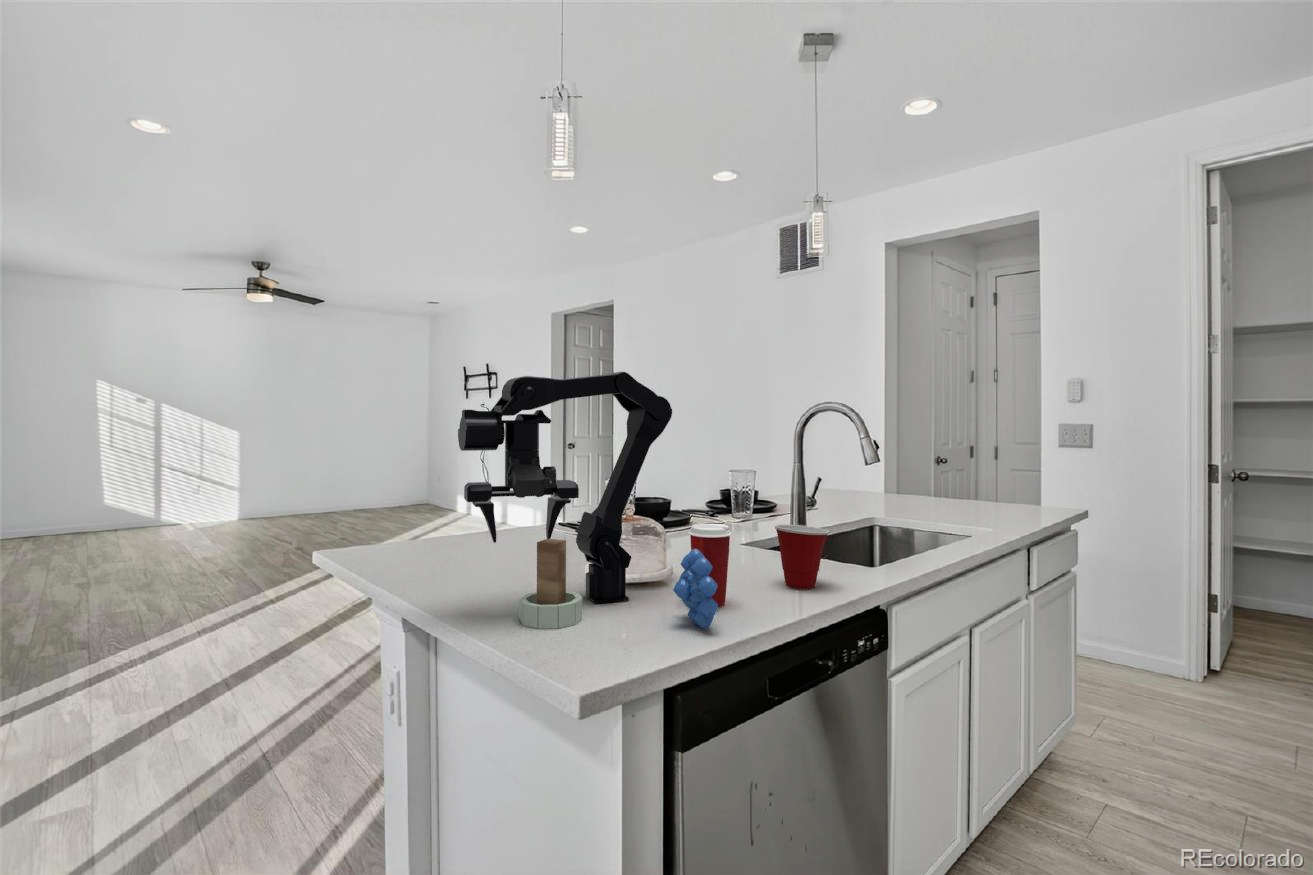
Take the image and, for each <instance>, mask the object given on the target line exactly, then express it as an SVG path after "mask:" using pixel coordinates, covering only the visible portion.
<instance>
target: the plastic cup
mask: <svg viewBox="0 0 1313 875" xmlns="http://www.w3.org/2000/svg"><path fill="white" fill-rule="evenodd" d="M774 529H775V530H776V533H777V534H776V535H777V539H778V540H777V541H778V544H779V545H778V546H779V552H780V559H781V566H782V570H783V577H784V578H783V579H784V584H785V586H786V587H787V586H788V587H787V588H789V587H790V588H789V589H793V590H801V589H802V591H803V590H804V589H806V590H812V589H811V588H813V589H814V587H816V584H817V579H818V573H819V570H820V566H821V559H822V555H823V548H824V546H825V542H826V540H827V537H828V535H830V530H828V529H825V528H822V527H816V526H815V527H814V526H808V525H800V524H785V523H784V524H775V525H774ZM804 591H805V590H804Z"/></svg>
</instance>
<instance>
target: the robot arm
mask: <svg viewBox="0 0 1313 875" xmlns="http://www.w3.org/2000/svg"><path fill="white" fill-rule="evenodd" d="M603 395H613V397H614V398H615V399H616V401H617V402H618V403H619V405H620V406H621V407H622V408H623V409H624V410H625V411H626V412H628V414H627V415H628V416H627V420H626V438H625V441H624V443H623V444H622V447H621V451H620V454H619V455H618V458H617V460H616V463H615V465H614V468H613V470H612V473H611V474H610V477H609V480H608V482H607V483H606V484H607V485H606V487H605V490H604V492H603V494H602V497H601V499H600V501H599V504H598V506H597V507H596V508H595V509H594V510H593V511H592V512H588V511H583V514H582V515H581V520H580V523H579V525H578V526H577V528H576V529H575V531H574V532H575V533H577V534H576V538H575V542H576V546H577V548H578V550H580V552H581V553H583V554H584V557H585V560H586V562H587V563H588V572H585V596H586V597H588V598H589V599H590V600H591V601H592V602H593V603H595V604H603V603H612V602H613V603H615V602H623V601H629V599H630V597H629V596H628V595H627V594H626V590H627V589H626V587H627V585H626V580H627V579H626V578H627V576H626V573H627V572H626V569H628V568H629V566H630V564H631V561H632V555H630V554H629V553H628V552H627V550H625V548H623V547H622V546H621V545H620V544H621V538H622V535H623V515H624V512H625V509H626V507H627V504H628V502H629V499H630V497H631V494H632V491H633V489H634V487H635V484H636V481H637V479H638V477H639V474H640V471H641V470H642V468H643V464H644V463H645V460H646V457H647V455H648V453H649V450H650V447H651V446H652V444H653V443H654V442H655V441H656V440H657V439H658V438H659V437H660V436H661V435H662V434H663V432H664V431H665V429H666V427H667V426H668V424H669V422H670V420H671V419H672V416H673V408H672V406H671V404H670V402H669V401H668V399H666V397H663V396H661V395H658V394H656V393H655V392H654V391H653V390H652V389H650V388H649V387H647V386H645V385H644V384H643V383H641V382H639V381H637V379H636V378H634V377H633V376H632V375H631V374H629V373H628V372H626V371H617V372H611V373H608V374H599V375H589V376H588V375H587V376H580V377H579V376H578V377H571V378H570V377H569V378H551V377H545V376H533V375H524V376H518V377H514V378H511V379H508V380H507V381H506V382H505V383H504V385H503V386H502V390H501V397H500V398H499V399H498V400H497V402H496V403H495V405H494V406H493V407H492V408H491V410H475V409H462V410H461V418H460V422H459V428H458V429H457V439H458V440H457V441H458V446H459V449H460V451H462V452H463V451H464V452H467V451H468V452H469V451H472V452H473V451H475V452H476V451H477V452H478V451H497V450H498V448H499V446H500V445H501V446H502V445H503V444H504V485H492V484H491V483H490V482H489V481H478V482H477V481H475V482H470V481H469V482H467V483H466V484H465V485H464V489H463V492H464V493H463V495H464V496H463V499H464V501H466V503H471V504H472V505H473V506H474V507H476V508H479V509H480V511H481V513H482V515H483V517H484V519H485V522H486V525H487V528H488V531H489V534H490V536H491V540H492V543H494V544H496V543H497V528H496V527H497V526H496V520H495V519H496V518H495V503H494V502H493V501H492V498H498V497H499V498H500V497H516V498H520V499H521V498H525V497H535V498H541V497H543V496H549V497H547V507H546V521H545V522H546V526H545V536H546V539H552V534H553V531H554V529H555V526H556V524H557V520H558V517H559V515H560V513H561V511H562V510H563V508H564V507H565V505H567V504H571V503H572V499H579V498H580V497H579V496H580V495H579V485H578V484H577V482H576V481H573V480H571V479H558V480H557V469H556V467H555V466H552V465H551V466H543V468H542V467H541V460H540V424H551V423H552V420H551V418H549V417H548V416H547V415H546V414H545V412H544V411H543V410H542V409H539V408H542V407H545V406H548V405H550V404H553V403H556V402H558V401H562V400H567V399H569V400H570V399H577V398H585V397H593V396H595V397H596V396H603ZM535 409H538V410H535ZM531 410H535V412H534V413H520V412H522V411H531ZM504 416H505V417H507V416H508V417H512V416H516V417H515V419H512V420H510V419H507V420H506V419H504V420H503V417H504ZM511 489H512V490H511Z"/></svg>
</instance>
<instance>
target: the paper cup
mask: <svg viewBox="0 0 1313 875" xmlns="http://www.w3.org/2000/svg"><path fill="white" fill-rule="evenodd" d="M687 534H688V535H689V536H690V551H691V550H692V549H698V550H699V551H700V552H701V553H702V554H703V555H704V557H705V559H707V560H708V561H709V562H710V564H711V565H712V570H711V572H710V574H709V575H708V576H709V577H711V578H712V579H713V580H714V581H715V582H716V584H717V585H718V587H717V590H716V592H715V594H714V595H713V596H712V597H711V598H713V599H714V601H715V602H716V603H717V604H718V609H719V607H720V608H722V607H725V605H726V596H727V587H728V586H727V584H728V583H727V582H728V568H729V555H730V541H731V540H730V538H731V535H732V534H733V533H732V532H731V530H730V527H729V526H728V525H726V524H722V523H696V524H693V525H691V527H690V529H689V531H688V532H687Z"/></svg>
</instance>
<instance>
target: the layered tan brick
mask: <svg viewBox="0 0 1313 875" xmlns="http://www.w3.org/2000/svg"><path fill="white" fill-rule="evenodd" d="M566 591H567V540H566V539H559V538H556V539H555V538H550V539H547V538H545V539H542V540H540V541H537V542H536V592H537V604H539V605H557V604H562V603H566Z"/></svg>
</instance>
